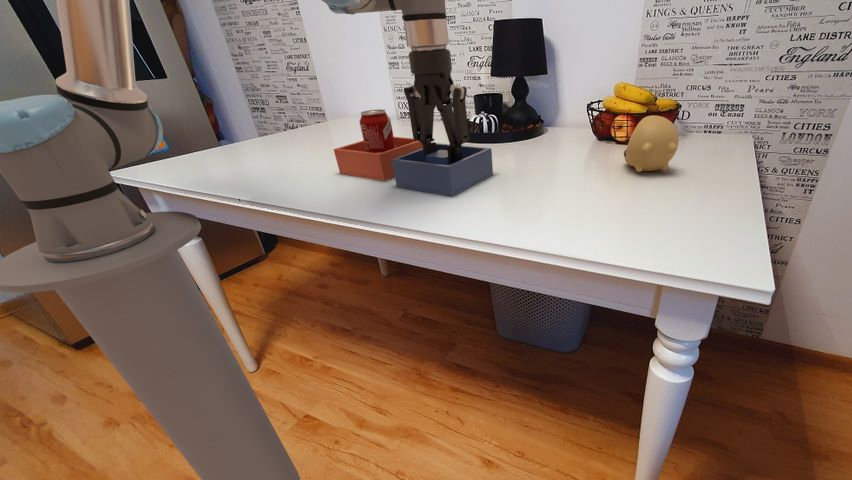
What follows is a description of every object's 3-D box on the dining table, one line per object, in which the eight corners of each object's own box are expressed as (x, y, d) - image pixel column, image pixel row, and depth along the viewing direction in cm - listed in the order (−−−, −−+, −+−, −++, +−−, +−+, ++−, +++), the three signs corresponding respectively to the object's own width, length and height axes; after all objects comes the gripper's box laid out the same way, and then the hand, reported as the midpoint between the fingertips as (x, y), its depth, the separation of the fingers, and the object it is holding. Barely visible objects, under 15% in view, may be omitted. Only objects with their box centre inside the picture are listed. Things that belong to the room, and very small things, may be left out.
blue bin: (396, 186, 82) (391, 159, 79) (440, 167, 93) (437, 142, 90) (452, 196, 76) (448, 167, 73) (493, 174, 86) (491, 148, 83)
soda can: (385, 171, 91) (373, 114, 84) (363, 168, 94) (350, 113, 87) (404, 163, 96) (395, 109, 89) (383, 160, 99) (372, 108, 92)
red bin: (339, 173, 93) (333, 149, 90) (384, 157, 104) (380, 135, 101) (384, 180, 86) (379, 154, 83) (428, 163, 97) (424, 139, 94)
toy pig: (665, 184, 85) (658, 141, 88) (691, 151, 74) (682, 103, 77) (619, 185, 85) (614, 142, 88) (638, 152, 74) (631, 104, 77)
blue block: (428, 179, 83) (425, 155, 81) (443, 173, 87) (440, 149, 84) (447, 182, 81) (444, 157, 78) (462, 175, 85) (459, 151, 82)
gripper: (482, 45, 70) (491, 176, 82) (405, 49, 78) (424, 167, 91) (456, 48, 65) (470, 187, 77) (377, 52, 73) (401, 176, 85)
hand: (445, 176), depth 84 cm, fingers closed on blue block, 5 cm apart
